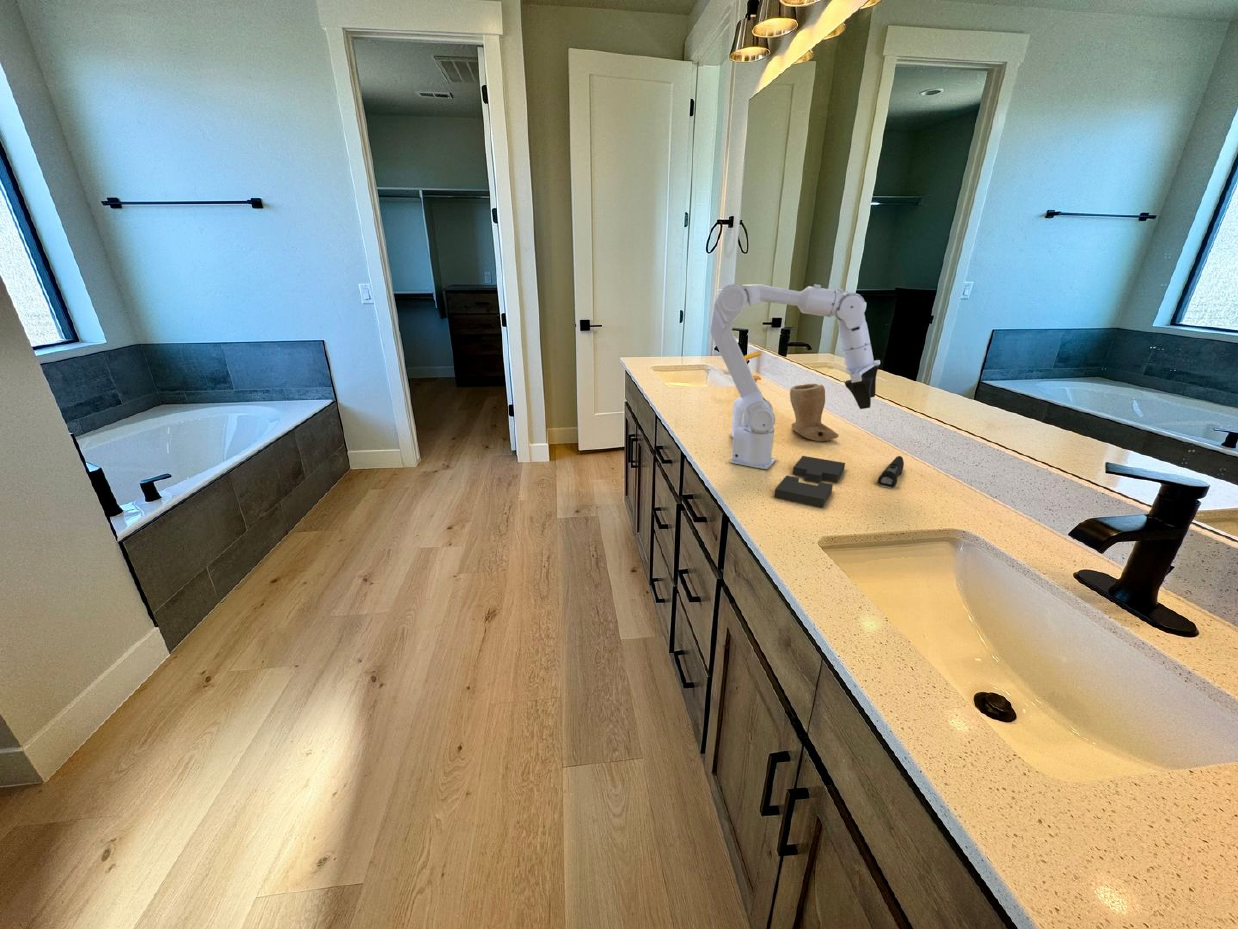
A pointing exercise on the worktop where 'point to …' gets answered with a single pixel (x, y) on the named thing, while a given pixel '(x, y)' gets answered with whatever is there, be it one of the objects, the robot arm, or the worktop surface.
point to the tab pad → (818, 469)
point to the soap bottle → (738, 407)
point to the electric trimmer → (891, 473)
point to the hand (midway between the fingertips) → (867, 402)
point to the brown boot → (810, 412)
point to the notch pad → (803, 492)
